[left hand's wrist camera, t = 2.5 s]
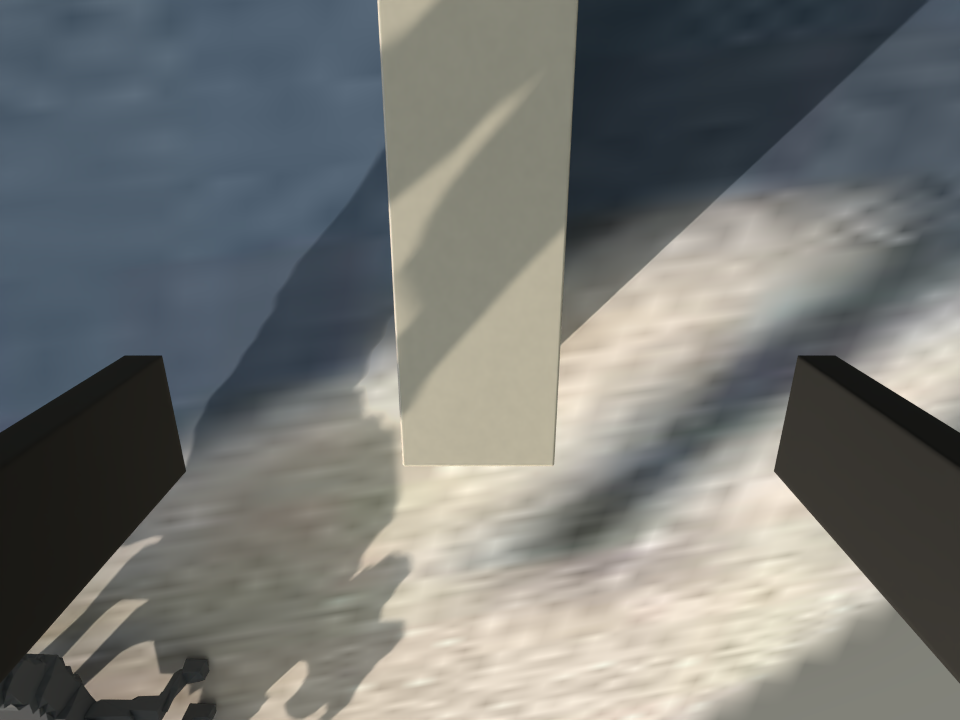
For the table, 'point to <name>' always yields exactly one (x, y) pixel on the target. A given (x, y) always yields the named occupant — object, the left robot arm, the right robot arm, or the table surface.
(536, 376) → the bar
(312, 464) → the table surface
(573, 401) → the table surface
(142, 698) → the toy
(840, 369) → the left robot arm
